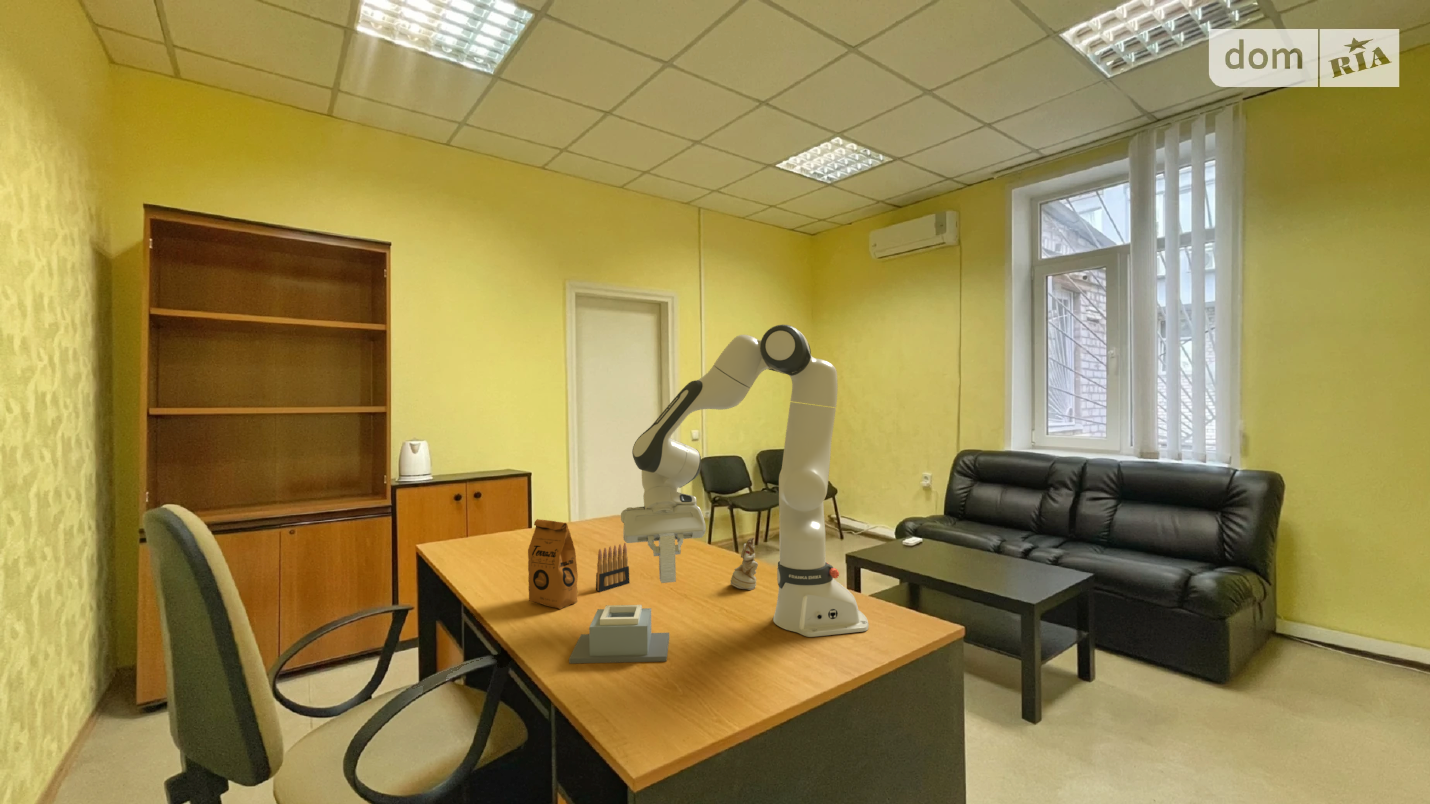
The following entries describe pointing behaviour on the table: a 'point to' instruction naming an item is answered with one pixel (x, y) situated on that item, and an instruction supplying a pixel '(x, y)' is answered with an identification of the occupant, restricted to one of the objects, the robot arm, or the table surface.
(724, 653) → the table surface
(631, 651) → the block
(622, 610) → the frame
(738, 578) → the figurine
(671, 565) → the shaft
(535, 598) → the coffee package
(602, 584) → the ammunition clip
